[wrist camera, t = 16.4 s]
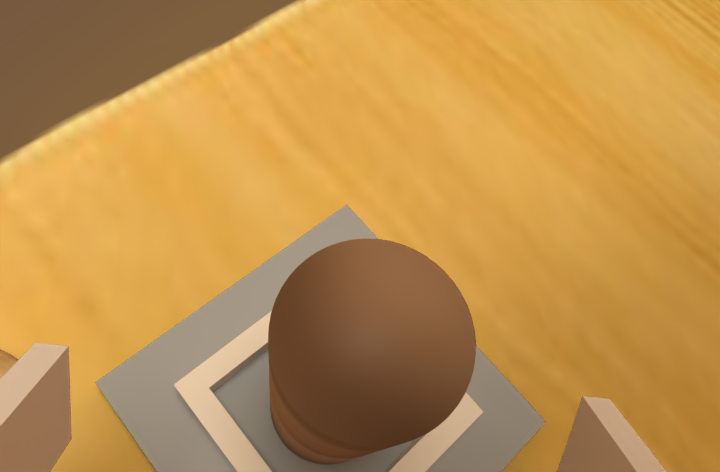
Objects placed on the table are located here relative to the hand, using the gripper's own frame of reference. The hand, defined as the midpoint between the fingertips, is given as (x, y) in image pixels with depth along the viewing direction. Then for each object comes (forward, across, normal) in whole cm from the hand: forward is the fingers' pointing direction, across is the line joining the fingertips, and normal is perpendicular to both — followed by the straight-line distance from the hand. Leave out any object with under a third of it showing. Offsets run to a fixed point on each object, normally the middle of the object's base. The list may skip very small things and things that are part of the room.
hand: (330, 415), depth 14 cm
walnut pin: (+8, +1, -6) cm, 10 cm away
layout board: (+9, +1, -6) cm, 11 cm away
